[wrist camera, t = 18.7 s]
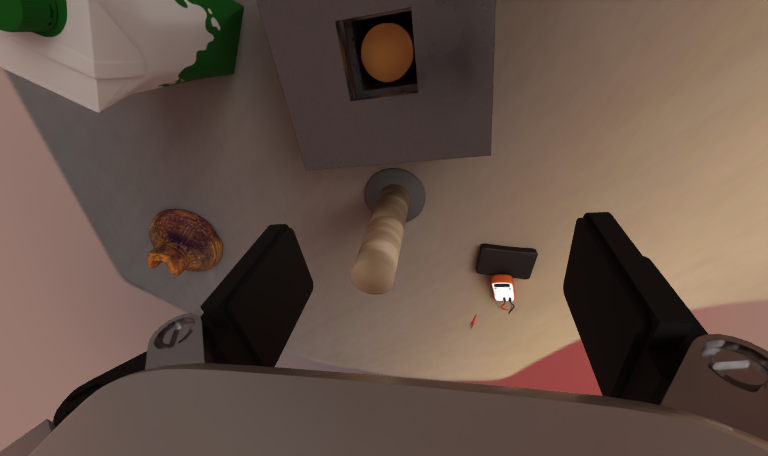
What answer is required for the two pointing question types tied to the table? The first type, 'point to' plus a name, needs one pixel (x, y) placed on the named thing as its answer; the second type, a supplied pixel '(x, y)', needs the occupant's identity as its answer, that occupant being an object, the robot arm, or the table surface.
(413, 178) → the coaster
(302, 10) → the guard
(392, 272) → the dowel
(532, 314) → the table surface
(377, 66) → the orange-brown round lump
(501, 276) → the multimeter
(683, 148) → the table surface
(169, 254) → the brown rounded piece
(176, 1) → the milk carton
